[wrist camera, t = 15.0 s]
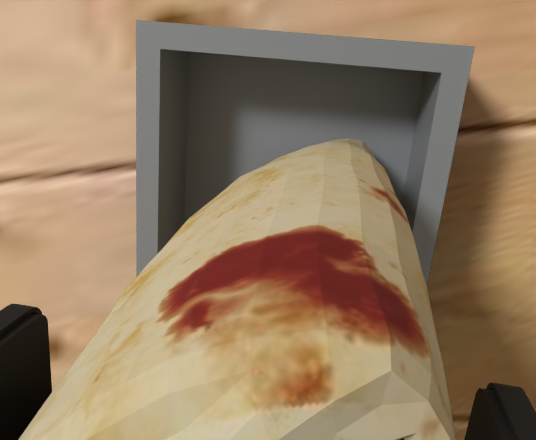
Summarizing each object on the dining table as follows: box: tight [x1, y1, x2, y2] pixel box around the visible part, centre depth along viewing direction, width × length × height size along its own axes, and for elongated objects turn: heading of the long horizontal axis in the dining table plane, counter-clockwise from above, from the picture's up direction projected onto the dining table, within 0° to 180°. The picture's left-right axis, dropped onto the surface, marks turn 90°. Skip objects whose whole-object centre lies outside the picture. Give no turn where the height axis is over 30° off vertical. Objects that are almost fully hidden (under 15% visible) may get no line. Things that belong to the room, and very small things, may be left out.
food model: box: [18, 138, 456, 440], centre depth 15 cm, size 10×7×20 cm
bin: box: [136, 20, 475, 287], centre depth 23 cm, size 13×16×5 cm
